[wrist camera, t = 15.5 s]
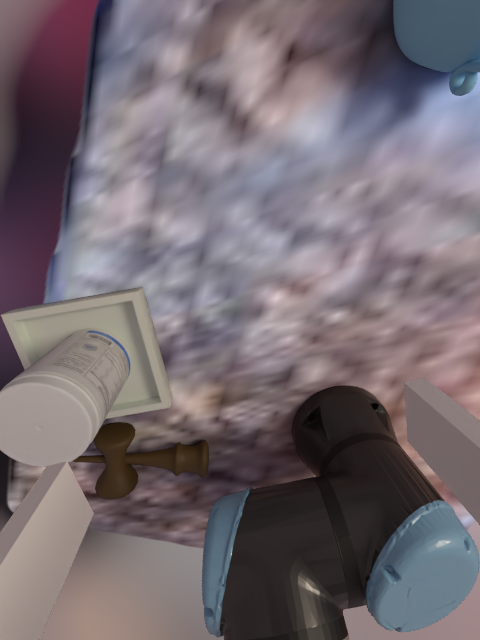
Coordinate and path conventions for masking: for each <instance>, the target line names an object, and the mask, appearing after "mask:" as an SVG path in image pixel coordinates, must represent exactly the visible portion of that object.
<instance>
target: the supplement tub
mask: <svg viewBox="0 0 480 640" xmlns="http://www.w3.org/2000/svg"><path fill="white" fill-rule="evenodd" d="M131 367H132V360H131V355H130V352H129V350H128V348H127V347H126V345H125V344H124V343H123V341H122V340H121V339H119V338H118V337H117V336H115V335H114V334H112V333H110V332H108V331H105V330H101V329H84V330H80V331H77V332H75V333H73V334H71V335H70V336H69V337H67V338H66V339H64V340H63V341H62V342H61V343H59V344H58V345H57V346H55V347H54V348H53V349H52V350H50V351H49V352H48V353H47V354H45V355H44V356H43V357H41V358H40V359H39V360H37V361H36V362H35V363H34V364H32V365H31V366H30V367H29V368H27V369H26V370H25V371H23V372H22V373H21V374H20V375H18V376H17V377H16V378H14V379H13V380H12V381H11V382H10V383H8V384H7V385H6V386H5V387H4V388H3V389H2V390H1V391H0V450H1V451H3V452H4V453H5V454H6V455H8V456H9V457H11V458H13V459H14V460H17V461H19V462H21V463H24V464H27V465H31V466H37V467H47V466H48V465H53V464H57V463H61V462H66V461H67V462H68V463H69V462H71V461H73V460H75V459H76V458H78V457H79V456H80V455H81V454H82V453H83V452H84V451H85V450H86V449H87V447H88V446H89V444H90V443H91V442H92V441H93V439H94V438H95V436H96V434H97V433H98V431H99V429H100V427H101V426H102V424H103V422H104V420H105V418H106V417H107V415H108V413H109V411H110V409H111V408H112V406H113V404H114V402H115V400H116V399H117V397H118V395H119V393H120V391H121V389H122V388H123V386H124V384H125V382H126V380H127V378H128V376H129V374H130V372H131Z"/></svg>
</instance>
